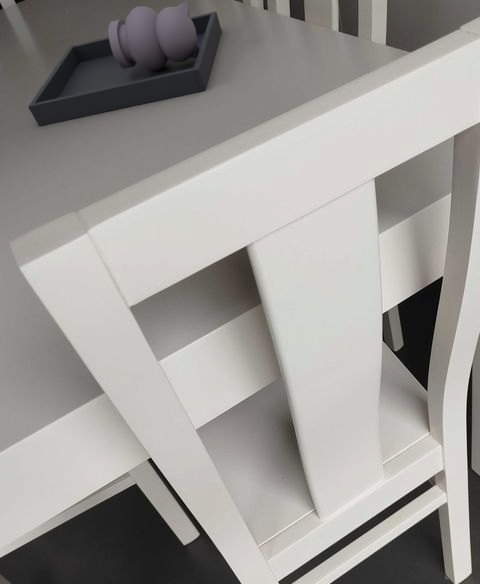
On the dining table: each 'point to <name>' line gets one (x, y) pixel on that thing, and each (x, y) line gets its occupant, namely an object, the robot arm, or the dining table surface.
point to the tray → (121, 78)
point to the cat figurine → (154, 37)
